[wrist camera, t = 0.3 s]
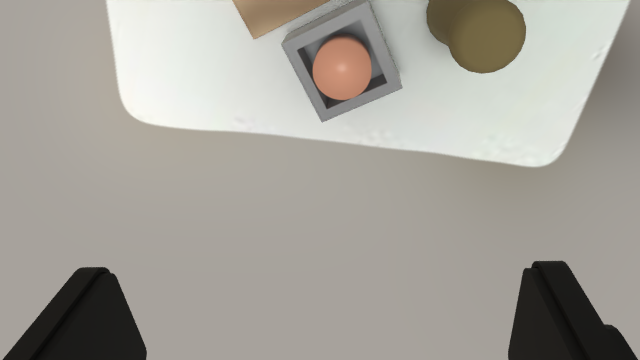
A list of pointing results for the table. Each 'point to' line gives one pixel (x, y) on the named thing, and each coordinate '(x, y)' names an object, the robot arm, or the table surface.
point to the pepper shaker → (478, 31)
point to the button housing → (343, 20)
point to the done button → (342, 67)
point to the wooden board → (272, 13)
